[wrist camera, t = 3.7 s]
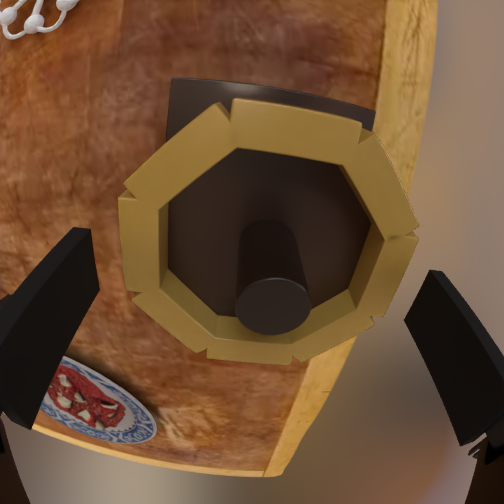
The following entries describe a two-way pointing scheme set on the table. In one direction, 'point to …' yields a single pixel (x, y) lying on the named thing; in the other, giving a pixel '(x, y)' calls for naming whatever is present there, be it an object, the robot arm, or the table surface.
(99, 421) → the ceramic plate
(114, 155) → the table surface
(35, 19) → the tangled rod sculpture
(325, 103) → the stand
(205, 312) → the ring
